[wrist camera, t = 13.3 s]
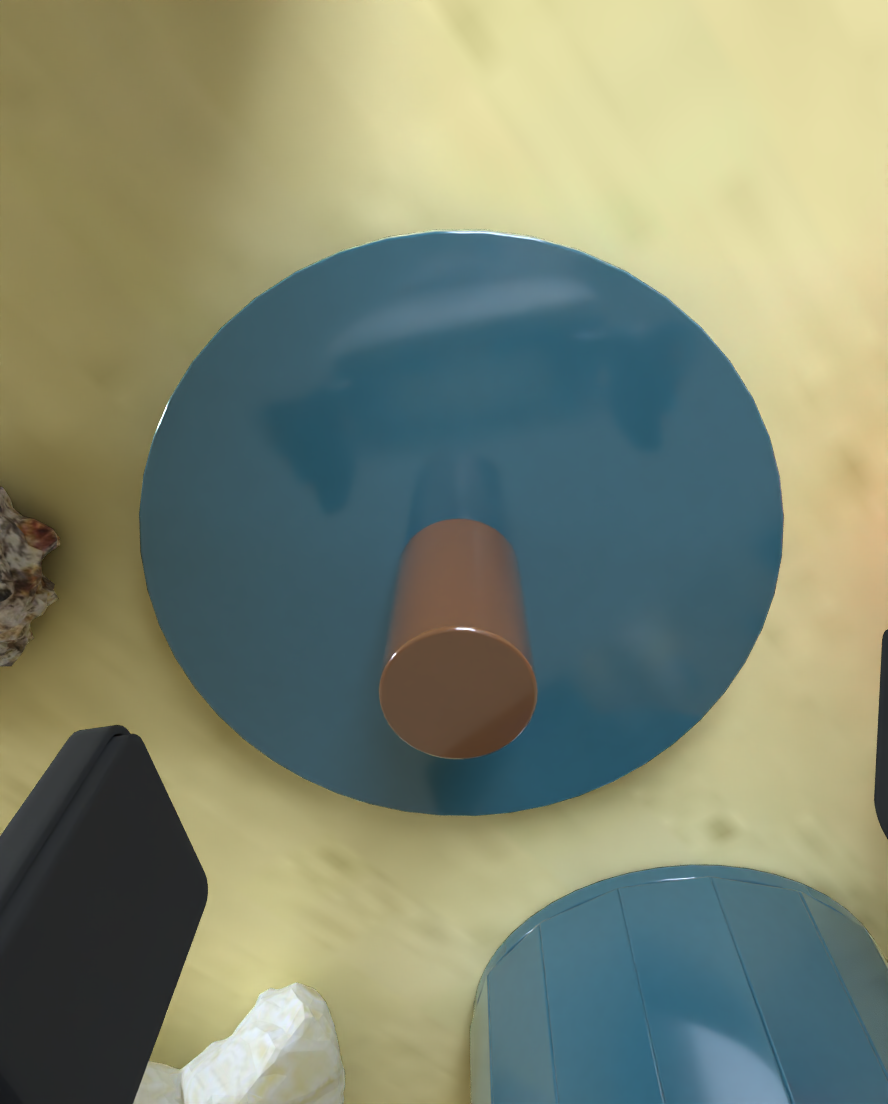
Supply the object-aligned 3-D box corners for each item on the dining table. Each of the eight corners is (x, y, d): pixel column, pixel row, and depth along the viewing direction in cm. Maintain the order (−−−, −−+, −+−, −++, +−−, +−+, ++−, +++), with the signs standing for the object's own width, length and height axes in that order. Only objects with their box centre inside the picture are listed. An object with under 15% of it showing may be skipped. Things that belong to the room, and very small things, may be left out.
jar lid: (752, 155, 15) (911, 142, 9) (773, 742, 20) (880, 935, 15) (61, 306, 16) (-131, 366, 11) (260, 816, 22) (197, 1016, 16)
